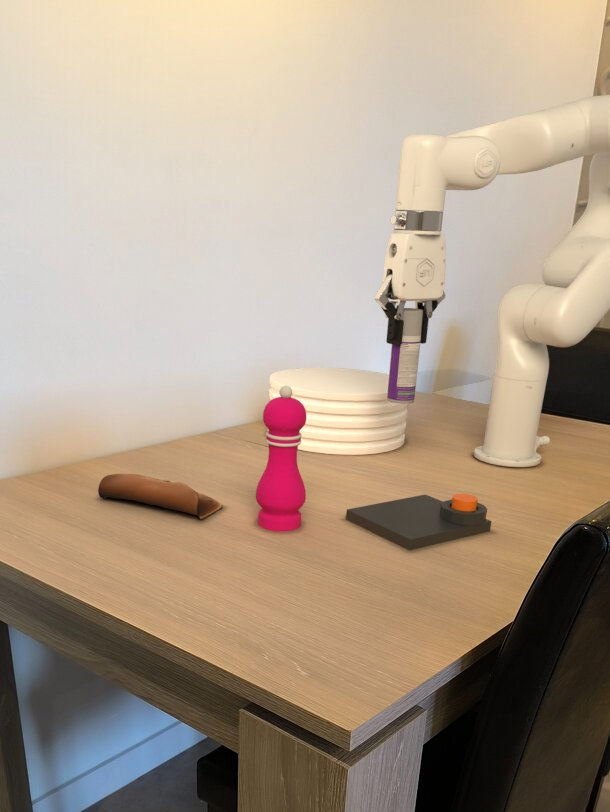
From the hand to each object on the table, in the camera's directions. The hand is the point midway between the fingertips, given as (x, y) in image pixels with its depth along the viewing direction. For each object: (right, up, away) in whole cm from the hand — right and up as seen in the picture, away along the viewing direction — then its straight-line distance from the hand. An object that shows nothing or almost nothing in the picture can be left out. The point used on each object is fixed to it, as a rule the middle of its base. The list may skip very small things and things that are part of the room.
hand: (406, 342), depth 138 cm
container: (0, -9, +4) cm, 10 cm away
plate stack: (-10, -10, +31) cm, 34 cm away
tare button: (+6, -30, -17) cm, 35 cm away
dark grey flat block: (-1, -32, -16) cm, 36 cm away
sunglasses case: (-40, -29, -12) cm, 50 cm away
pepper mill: (-21, -32, -18) cm, 43 cm away
